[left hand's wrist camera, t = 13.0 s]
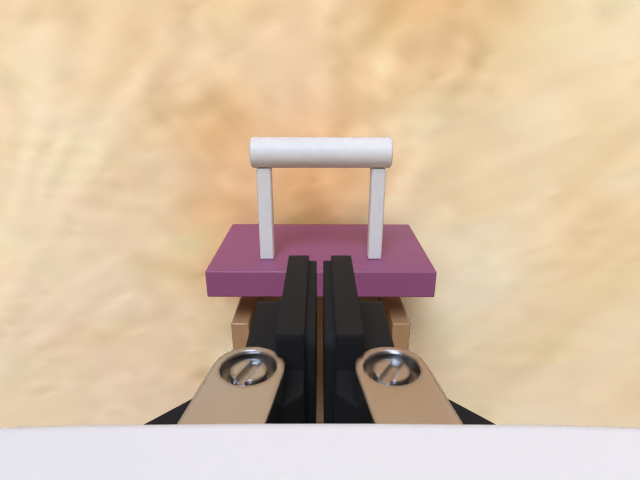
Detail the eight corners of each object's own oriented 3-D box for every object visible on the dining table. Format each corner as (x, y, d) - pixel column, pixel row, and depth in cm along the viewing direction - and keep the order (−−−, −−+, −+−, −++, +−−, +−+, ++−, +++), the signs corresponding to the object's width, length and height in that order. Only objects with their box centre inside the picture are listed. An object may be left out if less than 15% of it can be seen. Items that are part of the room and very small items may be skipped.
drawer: (225, 124, 23) (192, 142, 17) (416, 125, 23) (449, 143, 17) (245, 418, 30) (226, 505, 24) (394, 418, 30) (413, 506, 24)
